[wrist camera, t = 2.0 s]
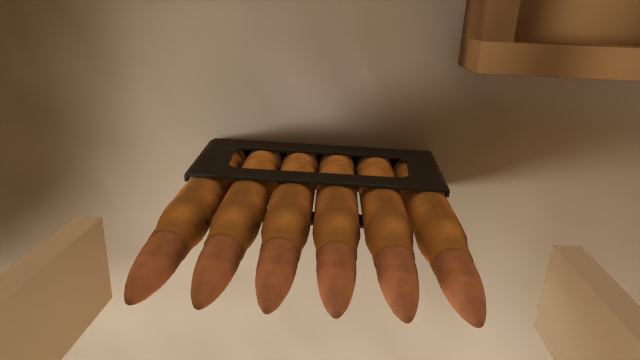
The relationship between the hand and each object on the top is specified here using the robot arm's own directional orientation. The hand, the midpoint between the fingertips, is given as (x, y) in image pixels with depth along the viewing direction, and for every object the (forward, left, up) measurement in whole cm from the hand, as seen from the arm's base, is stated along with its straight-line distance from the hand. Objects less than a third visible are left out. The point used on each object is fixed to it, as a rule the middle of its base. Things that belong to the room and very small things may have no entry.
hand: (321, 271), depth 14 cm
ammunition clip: (0, 0, -10) cm, 10 cm away
